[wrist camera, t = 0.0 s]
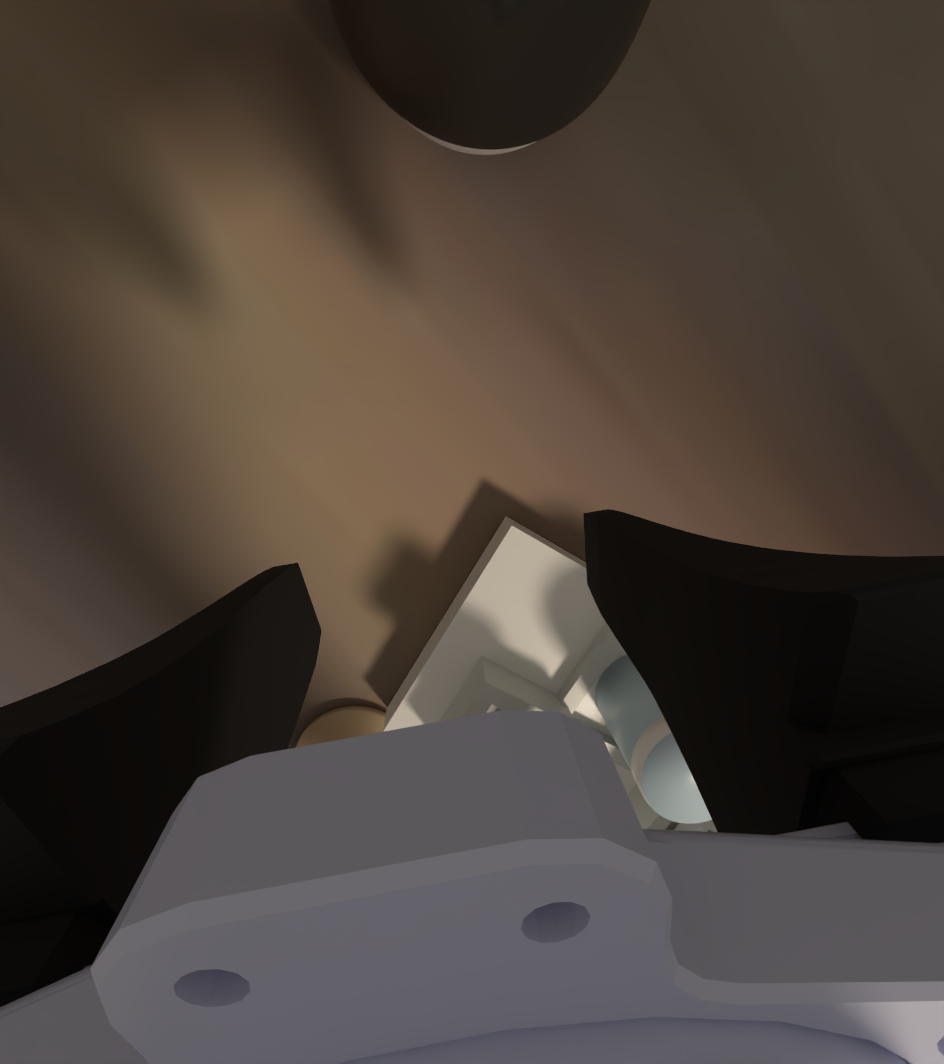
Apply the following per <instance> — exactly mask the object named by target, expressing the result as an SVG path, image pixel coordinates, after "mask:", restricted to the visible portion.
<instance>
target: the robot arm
mask: <svg viewBox="0 0 944 1064" xmlns="http://www.w3.org/2000/svg"><path fill="white" fill-rule="evenodd" d="M584 532H585V552H586V572H587V585H588V587H589V589H590V592H591V594H592V596H593V598H594V601H595V603H596V605H597V607H598V609H599V611H600V613H601V615H602V617H603V618H604V620H605V622H606V623H607V625H608V626H609V628H610V629H611V631H612V632H613V634H614V636H615V637H616V639H617V640H618V642H619V643H620V645H621V646H622V648H623V649H624V651H625V652H626V654H627V655H628V657H629V658H630V660H631V662H632V663H633V665H634V666H635V668H636V669H637V671H638V672H639V674H640V675H641V677H642V678H643V680H644V681H645V683H646V685H647V687H648V688H649V690H650V692H651V693H652V695H653V697H654V699H655V701H656V703H657V705H658V707H659V709H660V710H661V712H662V714H663V716H664V718H665V720H666V722H667V724H668V726H669V728H670V730H671V732H672V734H673V736H674V738H675V741H676V743H677V745H678V747H679V749H680V751H681V753H682V755H683V757H684V759H685V762H686V764H687V766H688V768H689V770H690V772H691V774H692V776H693V778H694V781H695V783H696V785H697V787H698V790H699V792H700V794H701V796H702V799H703V801H704V803H705V805H706V807H707V810H708V812H709V814H710V816H711V819H712V821H713V823H714V825H715V827H716V830H717V832H700V831H680V830H660V829H642V827H641V825H640V822H639V820H638V818H637V816H636V813H635V811H634V809H633V806H632V804H631V802H630V799H629V797H628V795H627V792H626V790H625V788H624V785H623V783H622V781H621V779H620V776H619V774H618V772H617V769H616V767H615V765H614V762H613V760H612V758H611V755H610V753H609V751H608V749H607V746H606V744H605V742H604V739H603V737H602V735H601V734H600V733H598V732H596V731H594V730H593V729H591V728H589V727H587V726H585V725H583V724H581V723H579V722H578V721H576V720H574V719H572V718H570V717H568V716H566V715H565V714H563V713H561V712H556V711H511V710H500V711H495V712H489V713H484V714H478V715H473V716H467V717H461V718H456V719H450V720H445V721H439V722H434V723H428V724H423V725H417V726H412V727H406V728H401V729H395V730H390V731H384V732H379V733H373V734H368V735H362V736H357V737H351V738H346V739H340V740H335V741H329V742H323V743H318V744H312V745H307V746H301V747H296V748H290V749H288V745H289V742H290V739H291V737H292V734H293V731H294V728H295V725H296V722H297V719H298V716H299V713H300V710H301V707H302V704H303V701H304V699H305V696H306V693H307V690H308V687H309V684H310V681H311V678H312V675H313V671H314V668H315V665H316V660H317V655H318V649H319V643H320V636H321V628H320V625H319V622H318V619H317V616H316V614H315V611H314V608H313V605H312V602H311V599H310V596H309V593H308V590H307V588H306V585H305V582H304V579H303V576H302V573H301V570H300V567H299V564H298V563H294V564H288V565H282V566H276V567H272V568H270V569H268V570H266V571H264V572H262V573H260V574H258V575H257V576H255V577H253V578H252V579H250V580H248V581H247V582H245V583H244V584H242V585H241V586H239V587H237V588H236V589H234V590H233V591H231V592H230V593H228V594H227V595H225V596H224V597H222V598H221V599H219V600H218V601H216V602H214V603H213V604H211V605H210V606H208V607H207V608H205V609H203V610H202V611H200V612H199V613H197V614H195V615H194V616H192V617H190V618H189V619H187V620H186V621H184V622H182V623H181V624H179V625H177V626H176V627H174V628H172V629H171V630H169V631H167V632H166V633H164V634H162V635H160V636H159V637H157V638H155V639H153V640H151V641H149V642H148V643H146V644H144V645H142V646H140V647H138V648H136V649H134V650H132V651H130V652H128V653H126V654H124V655H123V656H121V657H119V658H116V659H114V660H112V661H110V662H108V663H106V664H104V665H101V666H99V667H97V668H95V669H93V670H90V671H88V672H86V673H84V674H81V675H79V676H77V677H75V678H72V679H70V680H68V681H66V682H63V683H61V684H59V685H57V686H54V687H52V688H49V689H47V690H44V691H42V692H39V693H37V694H34V695H32V696H29V697H27V698H24V699H22V700H19V701H17V702H14V703H11V704H8V705H6V706H3V707H0V1064H944V556H911V557H877V556H848V555H830V554H815V553H804V552H795V551H785V550H776V549H769V548H761V547H755V546H749V545H744V544H738V543H732V542H727V541H722V540H718V539H713V538H709V537H705V536H701V535H697V534H693V533H689V532H686V531H682V530H679V529H675V528H672V527H668V526H665V525H662V524H659V523H655V522H652V521H649V520H646V519H643V518H640V517H636V516H633V515H630V514H626V513H623V512H619V511H615V510H609V509H607V510H601V511H595V512H590V513H584Z"/></svg>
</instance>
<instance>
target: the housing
mask: <svg viewBox="0 0 944 1064" xmlns="http://www.w3.org/2000/svg"><path fill="white" fill-rule="evenodd" d="M625 655H627V654H626V652H625V651H624V649H623V648H622V646H621V645H620V643H619V642H618V640H617V639H616V637H615V636H614V634H613V632H612V631H611V629H610V628H609V626H608V625H607V623H606V622H605V620H604V618H603V617H602V615H601V613H600V611H599V609H598V607H597V605H596V603H595V601H594V598H593V596H592V594H591V592H590V589H589V587H588V585H587V572H586V562H584V561H583V560H581V559H579V558H577V557H576V556H574V555H572V554H570V553H569V552H567V551H565V550H564V549H562V548H560V547H558V546H557V545H555V544H553V543H551V542H550V541H548V540H546V539H545V538H543V537H541V536H539V535H538V534H536V533H534V532H533V531H531V530H529V529H527V528H526V527H524V526H522V525H520V524H519V523H517V522H515V521H514V520H512V519H510V518H508V517H507V516H505V518H504V520H503V521H502V523H501V525H500V526H499V528H498V529H497V531H496V533H495V534H494V536H493V537H492V539H491V541H490V542H489V544H488V546H487V547H486V549H485V550H484V552H483V554H482V555H481V557H480V558H479V560H478V562H477V563H476V565H475V567H474V568H473V570H472V571H471V573H470V575H469V576H468V578H467V579H466V581H465V583H464V584H463V586H462V588H461V589H460V591H459V592H458V594H457V596H456V597H455V599H454V600H453V602H452V604H451V605H450V607H449V608H448V610H447V612H446V613H445V615H444V617H443V618H442V620H441V621H440V623H439V625H438V626H437V628H436V629H435V631H434V633H433V634H432V636H431V638H430V639H429V641H428V642H427V644H426V646H425V647H424V649H423V650H422V652H421V654H420V655H419V657H418V659H417V660H416V662H415V663H414V665H413V667H412V668H411V670H410V671H409V673H408V675H407V676H406V678H405V680H404V681H403V683H402V684H401V686H400V688H399V689H398V691H397V692H396V694H395V696H394V697H393V699H392V701H391V702H390V704H389V705H388V707H387V711H386V716H385V721H384V727H383V732H384V731H390V730H395V729H401V728H406V727H412V726H417V725H423V724H428V723H434V722H439V721H445V720H450V719H456V718H461V717H467V716H473V715H478V714H484V713H489V712H495V711H500V710H511V711H556V712H561V713H563V714H565V715H566V716H568V717H570V718H572V719H574V720H576V721H578V722H579V723H581V724H583V725H585V726H587V727H589V728H591V729H593V730H594V731H596V732H598V733H600V734H601V735H602V737H603V739H604V742H605V744H606V746H607V749H608V751H609V753H610V755H611V758H612V760H613V762H614V765H615V767H616V769H617V772H618V774H619V776H620V779H621V781H622V783H623V785H624V788H625V790H626V792H627V795H628V797H629V799H630V802H631V804H632V806H633V809H634V811H635V813H636V816H637V818H638V820H639V822H640V825H641V827H642V829H660V830H674V829H675V828H676V827H677V825H678V824H679V823H678V822H674V821H671V820H668V819H666V818H664V817H662V816H660V815H659V814H658V813H656V812H655V811H654V810H653V809H652V808H651V806H650V805H649V804H648V803H647V802H646V800H645V799H644V797H643V795H642V793H641V791H640V789H639V787H638V786H637V784H636V782H635V779H634V777H633V774H632V772H631V770H630V768H629V766H628V764H627V762H626V760H625V759H624V757H623V755H622V753H621V751H620V749H619V747H618V745H617V744H616V742H615V740H614V738H613V736H612V734H611V732H610V730H609V729H608V727H607V725H606V723H605V721H604V719H603V717H602V715H601V714H600V712H599V710H598V707H597V704H596V688H597V685H598V682H599V680H600V677H601V676H602V674H603V673H604V671H605V670H606V669H607V668H608V667H609V666H610V665H611V664H612V663H613V662H615V661H616V660H618V659H619V658H621V657H623V656H625ZM711 821H712V820H711Z"/></svg>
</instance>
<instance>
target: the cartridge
mask: <svg viewBox="0 0 944 1064" xmlns="http://www.w3.org/2000/svg"><path fill="white" fill-rule="evenodd" d="M596 704H597V707H598V710H599V712H600V714H601V715H602V717H603V719H604V721H605V723H606V725H607V727H608V729H609V730H610V732H611V734H612V736H613V738H614V740H615V742H616V744H617V745H618V747H619V749H620V751H621V753H622V755H623V757H624V759H625V760H626V762H627V764H628V766H629V768H630V770H631V772H632V774H633V777H634V779H635V782H636V784H637V786H638V787H639V789H640V791H641V793H642V795H643V797H644V799H645V800H646V802H647V803H648V804H649V805H650V806H651V808H652V809H653V810H654V811H655V812H656V813H658V814H659V815H660V816H662V817H664V818H666V819H668V820H671V821H674V822H678V823H685V824H694V823H702V822H706V821H710V820H712V819H711V816H710V814H709V812H708V810H707V807H706V805H705V803H704V801H703V799H702V796H701V794H700V792H699V790H698V787H697V785H696V783H695V781H694V778H693V776H692V774H691V772H690V770H689V768H688V766H687V764H686V762H685V759H684V757H683V755H682V753H681V751H680V749H679V747H678V745H677V743H676V741H675V738H674V736H673V734H672V732H671V730H670V728H669V726H668V724H667V722H666V720H665V718H664V716H663V714H662V712H661V710H660V709H659V707H658V705H657V703H656V701H655V699H654V697H653V695H652V693H651V692H650V690H649V688H648V687H647V685H646V683H645V681H644V680H643V678H642V677H641V675H640V674H639V672H638V671H637V669H636V668H635V666H634V665H633V663H632V662H631V660H630V658H629V657H628V655H625V656H623V657H621V658H619V659H618V660H616V661H615V662H613V663H612V664H611V665H610V666H609V667H608V668H607V669H606V670H605V671H604V673H603V674H602V676H601V677H600V680H599V682H598V685H597V688H596Z"/></svg>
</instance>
